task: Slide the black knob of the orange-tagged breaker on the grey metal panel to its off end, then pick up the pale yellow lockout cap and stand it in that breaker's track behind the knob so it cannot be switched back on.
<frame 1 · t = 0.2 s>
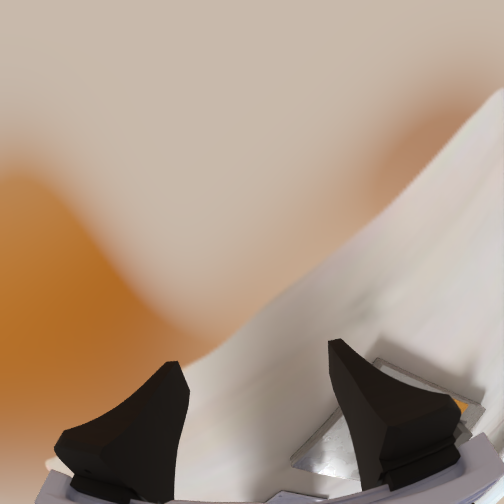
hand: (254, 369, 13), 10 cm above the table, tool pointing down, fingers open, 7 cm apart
breaker tagged: (456, 435, 21), point 3 cm above the table, slide at 0.0 cm
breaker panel: (401, 435, 24), on the table
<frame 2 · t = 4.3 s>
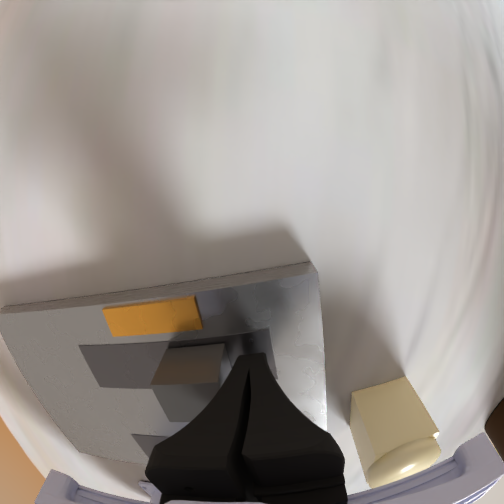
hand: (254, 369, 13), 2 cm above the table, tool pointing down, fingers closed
lockout cap: (377, 403, 16), on the table
breaker tagged: (196, 383, 12), point 3 cm above the table, slide at 1.2 cm, touching gripper
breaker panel: (151, 394, 16), on the table
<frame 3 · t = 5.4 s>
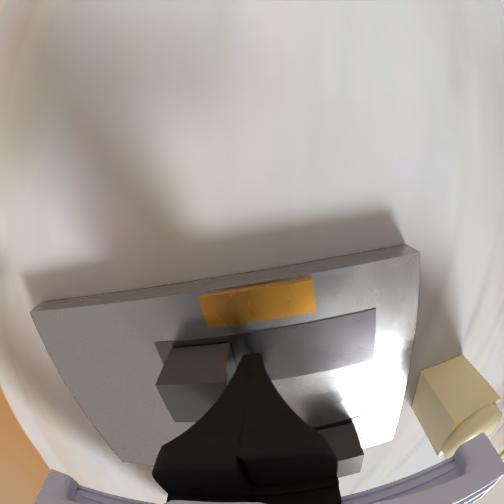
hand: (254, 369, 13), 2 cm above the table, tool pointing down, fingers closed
lockout cap: (437, 382, 16), on the table
breaker tagged: (201, 383, 12), point 3 cm above the table, slide at 6.2 cm, touching gripper
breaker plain: (334, 453, 14), point 3 cm above the table, slide at 0.0 cm
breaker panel: (227, 391, 16), on the table
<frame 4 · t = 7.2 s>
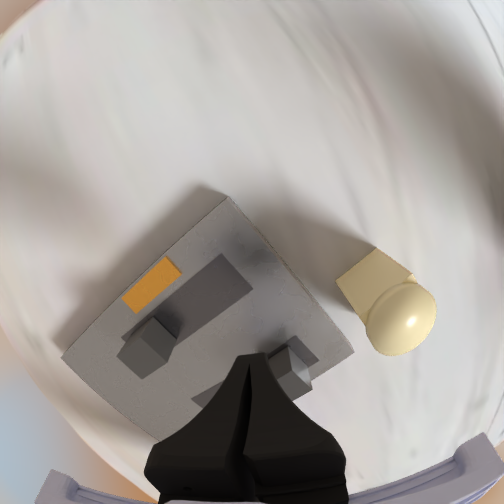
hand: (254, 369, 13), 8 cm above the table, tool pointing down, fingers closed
lockout cap: (368, 283, 20), on the table
breaker tagged: (146, 348, 19), point 3 cm above the table, slide at 6.1 cm
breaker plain: (283, 378, 19), point 3 cm above the table, slide at 0.0 cm
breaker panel: (189, 355, 22), on the table
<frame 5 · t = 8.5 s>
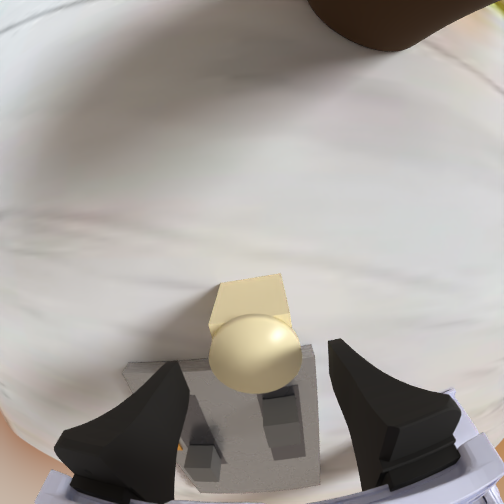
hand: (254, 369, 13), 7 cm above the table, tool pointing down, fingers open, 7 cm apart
olive oil: (366, 3, 13), on the table
lockout cap: (255, 305, 19), on the table
breaker tagged: (203, 464, 21), point 3 cm above the table, slide at 6.1 cm
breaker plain: (281, 422, 19), point 3 cm above the table, slide at 0.0 cm
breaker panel: (241, 439, 23), on the table
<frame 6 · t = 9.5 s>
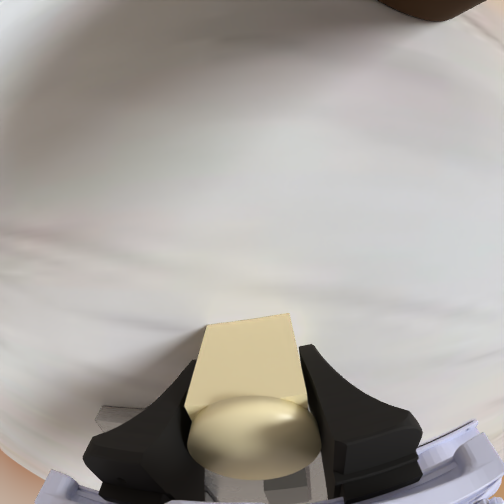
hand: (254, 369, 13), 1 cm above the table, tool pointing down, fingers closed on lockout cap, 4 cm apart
lockout cap: (254, 352, 14), on the table, touching gripper
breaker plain: (286, 480, 13), point 3 cm above the table, slide at 0.0 cm
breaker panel: (238, 483, 18), on the table
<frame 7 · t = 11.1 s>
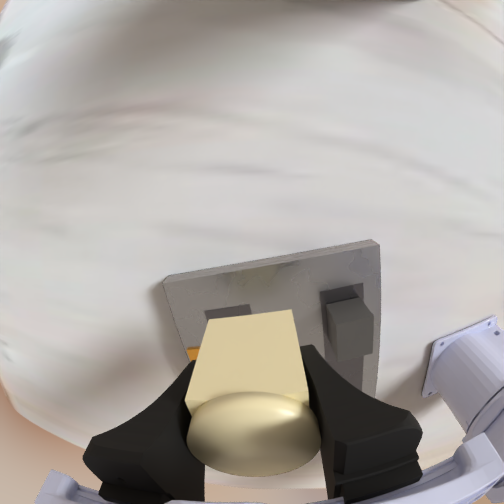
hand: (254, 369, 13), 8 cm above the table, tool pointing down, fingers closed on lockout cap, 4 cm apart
lockout cap: (255, 348, 14), point 7 cm above the table, touching gripper
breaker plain: (349, 328, 18), point 3 cm above the table, slide at 0.0 cm
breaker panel: (290, 377, 23), on the table
when the fingers open (4 cm above the table, at t = 12.5 s): lockout cap drops 1 cm, resting on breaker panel.
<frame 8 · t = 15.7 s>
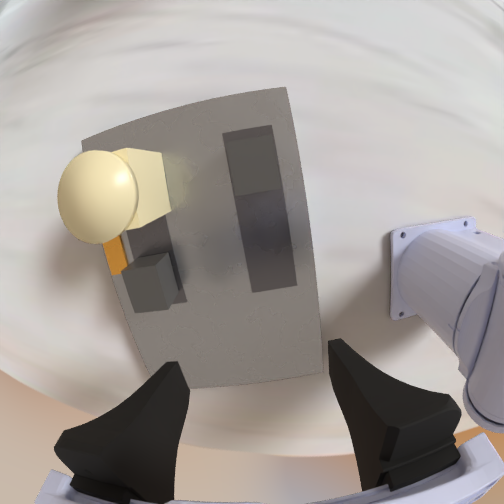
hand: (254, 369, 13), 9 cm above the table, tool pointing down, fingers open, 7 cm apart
lockout cap: (139, 187, 18), point 2 cm above the table, touching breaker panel
breaker tagged: (151, 282, 18), point 3 cm above the table, slide at 6.1 cm
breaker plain: (253, 165, 16), point 3 cm above the table, slide at 0.0 cm
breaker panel: (207, 259, 21), on the table
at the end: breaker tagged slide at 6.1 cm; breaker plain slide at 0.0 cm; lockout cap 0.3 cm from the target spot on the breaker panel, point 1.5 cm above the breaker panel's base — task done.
